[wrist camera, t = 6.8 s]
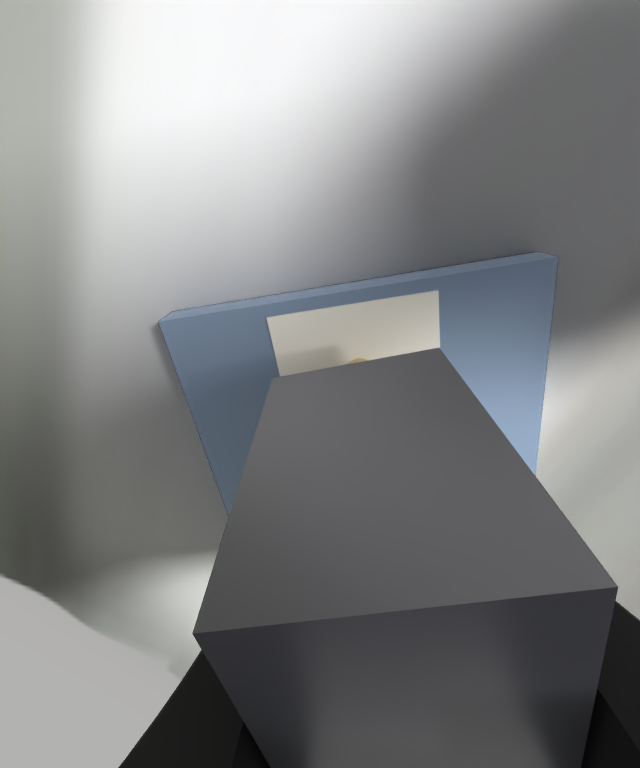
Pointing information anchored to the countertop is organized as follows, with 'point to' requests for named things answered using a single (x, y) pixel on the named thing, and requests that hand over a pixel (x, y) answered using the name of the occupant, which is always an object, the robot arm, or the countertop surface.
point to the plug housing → (401, 582)
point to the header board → (369, 346)
